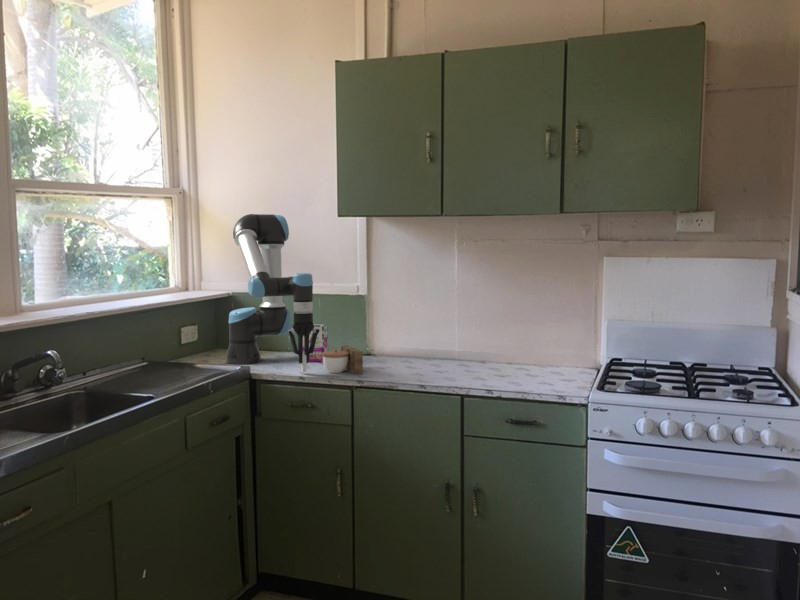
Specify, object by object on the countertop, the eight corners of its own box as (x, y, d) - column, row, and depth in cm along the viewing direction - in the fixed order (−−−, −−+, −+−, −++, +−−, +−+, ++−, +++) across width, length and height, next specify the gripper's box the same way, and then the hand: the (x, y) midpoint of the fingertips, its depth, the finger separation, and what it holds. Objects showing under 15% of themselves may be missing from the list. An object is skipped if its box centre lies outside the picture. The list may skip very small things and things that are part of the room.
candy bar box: (328, 360, 288) (328, 324, 287) (323, 362, 284) (323, 325, 282) (305, 359, 292) (305, 323, 290) (300, 361, 287) (300, 324, 285)
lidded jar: (327, 368, 270) (327, 346, 269) (352, 369, 268) (352, 347, 267) (318, 373, 260) (318, 350, 259) (344, 374, 257) (344, 351, 257)
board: (341, 366, 274) (340, 345, 273) (347, 366, 275) (347, 345, 275) (355, 374, 258) (355, 352, 257) (362, 374, 259) (362, 351, 258)
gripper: (289, 314, 250) (290, 374, 253) (321, 312, 256) (322, 371, 258) (284, 312, 257) (285, 370, 259) (316, 310, 263) (316, 368, 265)
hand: (303, 371), depth 259 cm, fingers closed
